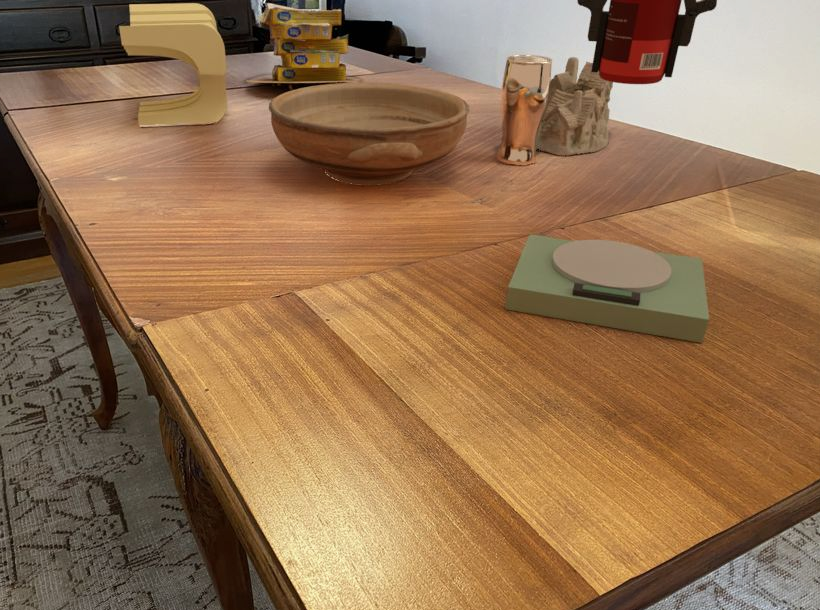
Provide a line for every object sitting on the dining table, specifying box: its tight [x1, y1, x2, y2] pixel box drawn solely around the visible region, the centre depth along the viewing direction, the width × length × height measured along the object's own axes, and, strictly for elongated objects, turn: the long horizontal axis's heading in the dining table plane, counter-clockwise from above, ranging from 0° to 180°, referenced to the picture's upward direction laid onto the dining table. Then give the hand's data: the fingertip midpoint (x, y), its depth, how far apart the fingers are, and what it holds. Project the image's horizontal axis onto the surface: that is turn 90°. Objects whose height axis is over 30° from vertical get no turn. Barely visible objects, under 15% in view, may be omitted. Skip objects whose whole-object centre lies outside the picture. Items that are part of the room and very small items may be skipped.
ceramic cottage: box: [536, 56, 614, 156], centre depth 117 cm, size 16×16×15 cm
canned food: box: [599, 0, 683, 85], centre depth 83 cm, size 8×8×11 cm
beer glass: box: [496, 54, 553, 166], centre depth 107 cm, size 7×7×15 cm
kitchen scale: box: [504, 234, 710, 344], centre depth 72 cm, size 18×14×3 cm
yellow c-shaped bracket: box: [118, 2, 228, 126], centre depth 128 cm, size 30×16×18 cm, turn 12°
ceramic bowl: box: [268, 81, 470, 186], centre depth 103 cm, size 37×29×10 cm
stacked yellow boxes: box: [246, 2, 362, 91], centre depth 150 cm, size 25×25×17 cm
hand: (631, 72), depth 86 cm, fingers closed on canned food, 8 cm apart
